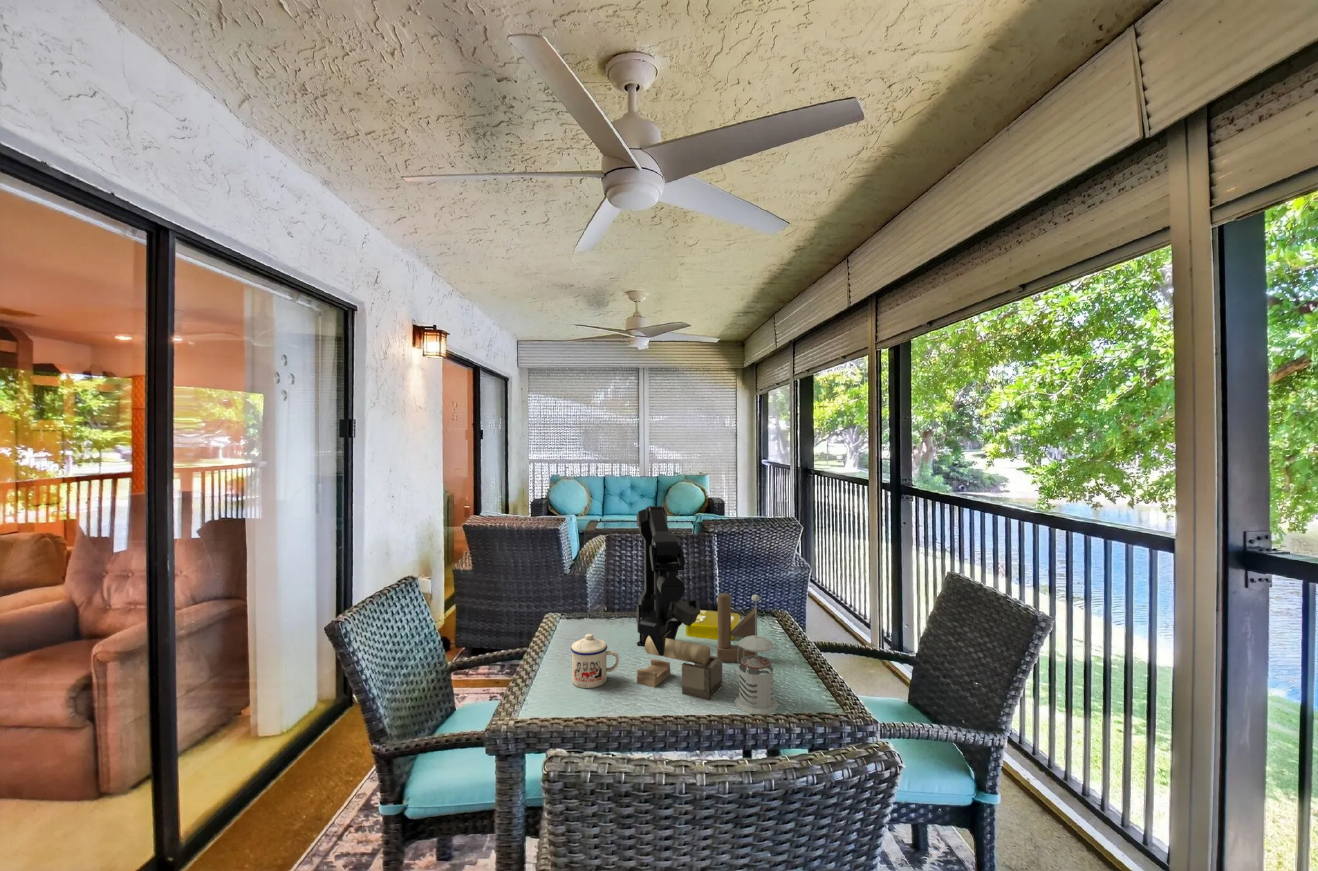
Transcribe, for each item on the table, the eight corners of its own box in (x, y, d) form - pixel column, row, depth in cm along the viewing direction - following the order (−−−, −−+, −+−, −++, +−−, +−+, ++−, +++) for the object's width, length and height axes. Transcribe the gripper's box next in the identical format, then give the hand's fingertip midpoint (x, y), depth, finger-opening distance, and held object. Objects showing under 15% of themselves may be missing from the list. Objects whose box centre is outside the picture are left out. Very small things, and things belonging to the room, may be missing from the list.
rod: (644, 655, 141) (644, 638, 141) (653, 650, 145) (653, 632, 145) (703, 667, 134) (703, 649, 134) (710, 661, 138) (710, 643, 138)
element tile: (732, 642, 169) (732, 626, 169) (684, 637, 173) (684, 621, 173) (741, 626, 183) (741, 611, 183) (696, 622, 187) (696, 607, 187)
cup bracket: (682, 693, 134) (681, 664, 134) (696, 680, 142) (696, 652, 142) (708, 700, 131) (708, 669, 131) (722, 685, 138) (722, 657, 138)
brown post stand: (757, 663, 152) (757, 596, 152) (717, 662, 153) (717, 596, 153) (756, 658, 156) (755, 593, 156) (717, 657, 156) (716, 592, 156)
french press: (749, 717, 123) (749, 602, 123) (722, 695, 133) (722, 589, 133) (786, 708, 127) (786, 597, 127) (757, 687, 137) (757, 585, 137)
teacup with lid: (569, 689, 137) (569, 641, 137) (572, 673, 146) (572, 629, 146) (618, 688, 137) (618, 640, 137) (619, 672, 146) (619, 627, 146)
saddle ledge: (636, 682, 140) (636, 670, 140) (653, 670, 147) (653, 658, 148) (654, 687, 138) (654, 674, 138) (670, 674, 145) (670, 661, 145)
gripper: (677, 604, 129) (678, 672, 129) (709, 585, 145) (710, 645, 145) (636, 597, 134) (636, 663, 134) (671, 580, 151) (671, 638, 151)
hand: (665, 652), depth 141 cm, fingers closed on rod, 4 cm apart
